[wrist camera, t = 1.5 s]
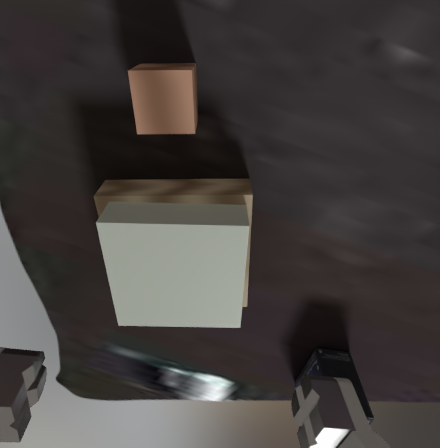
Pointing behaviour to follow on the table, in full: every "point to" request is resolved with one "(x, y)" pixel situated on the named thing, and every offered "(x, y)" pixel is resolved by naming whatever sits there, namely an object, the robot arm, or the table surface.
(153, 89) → the terracotta cube
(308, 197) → the table surface
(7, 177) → the table surface
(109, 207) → the sage block
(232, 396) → the table surface
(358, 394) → the small box
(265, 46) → the table surface
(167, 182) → the birch slab
